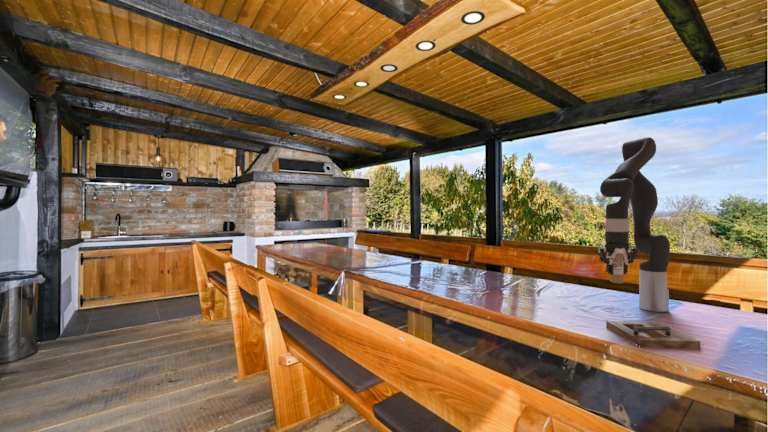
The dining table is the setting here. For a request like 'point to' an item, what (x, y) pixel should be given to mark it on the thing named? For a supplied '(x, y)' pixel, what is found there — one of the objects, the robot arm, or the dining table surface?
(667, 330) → the hook rod
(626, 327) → the flat wooden frame
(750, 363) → the dining table surface
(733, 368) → the dining table surface
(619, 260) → the sprinkles bottle
